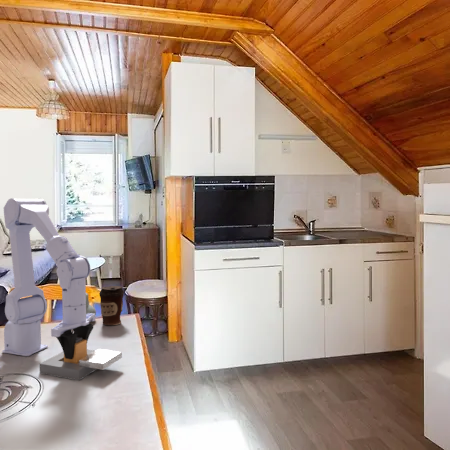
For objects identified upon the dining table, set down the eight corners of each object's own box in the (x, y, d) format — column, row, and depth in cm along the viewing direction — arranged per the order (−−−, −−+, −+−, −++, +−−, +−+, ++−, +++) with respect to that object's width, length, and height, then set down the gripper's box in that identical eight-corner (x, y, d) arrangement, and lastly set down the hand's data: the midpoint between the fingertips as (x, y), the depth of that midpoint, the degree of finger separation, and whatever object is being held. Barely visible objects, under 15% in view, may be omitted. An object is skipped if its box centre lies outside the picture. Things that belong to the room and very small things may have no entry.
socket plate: (39, 373, 101) (39, 363, 101) (72, 355, 112) (72, 347, 112) (79, 380, 97) (78, 370, 97) (108, 361, 109) (108, 352, 108)
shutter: (79, 365, 99) (79, 359, 99) (99, 354, 107) (99, 348, 107) (103, 369, 97) (103, 363, 97) (121, 357, 105) (121, 352, 105)
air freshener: (99, 318, 148) (99, 292, 147) (89, 325, 139) (89, 297, 139) (71, 317, 149) (70, 291, 148) (59, 324, 141) (59, 296, 140)
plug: (64, 362, 103) (63, 340, 103) (74, 357, 107) (74, 335, 107) (76, 364, 102) (76, 341, 102) (87, 359, 106) (86, 336, 106)
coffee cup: (117, 328, 137) (116, 290, 136) (94, 326, 139) (94, 289, 138) (128, 320, 146) (127, 285, 145) (107, 319, 147) (106, 284, 146)
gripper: (67, 312, 96) (68, 368, 96) (104, 298, 109) (104, 347, 110) (43, 310, 98) (45, 364, 99) (82, 296, 112) (83, 344, 112)
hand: (75, 355), depth 105 cm, fingers closed on plug, 4 cm apart
